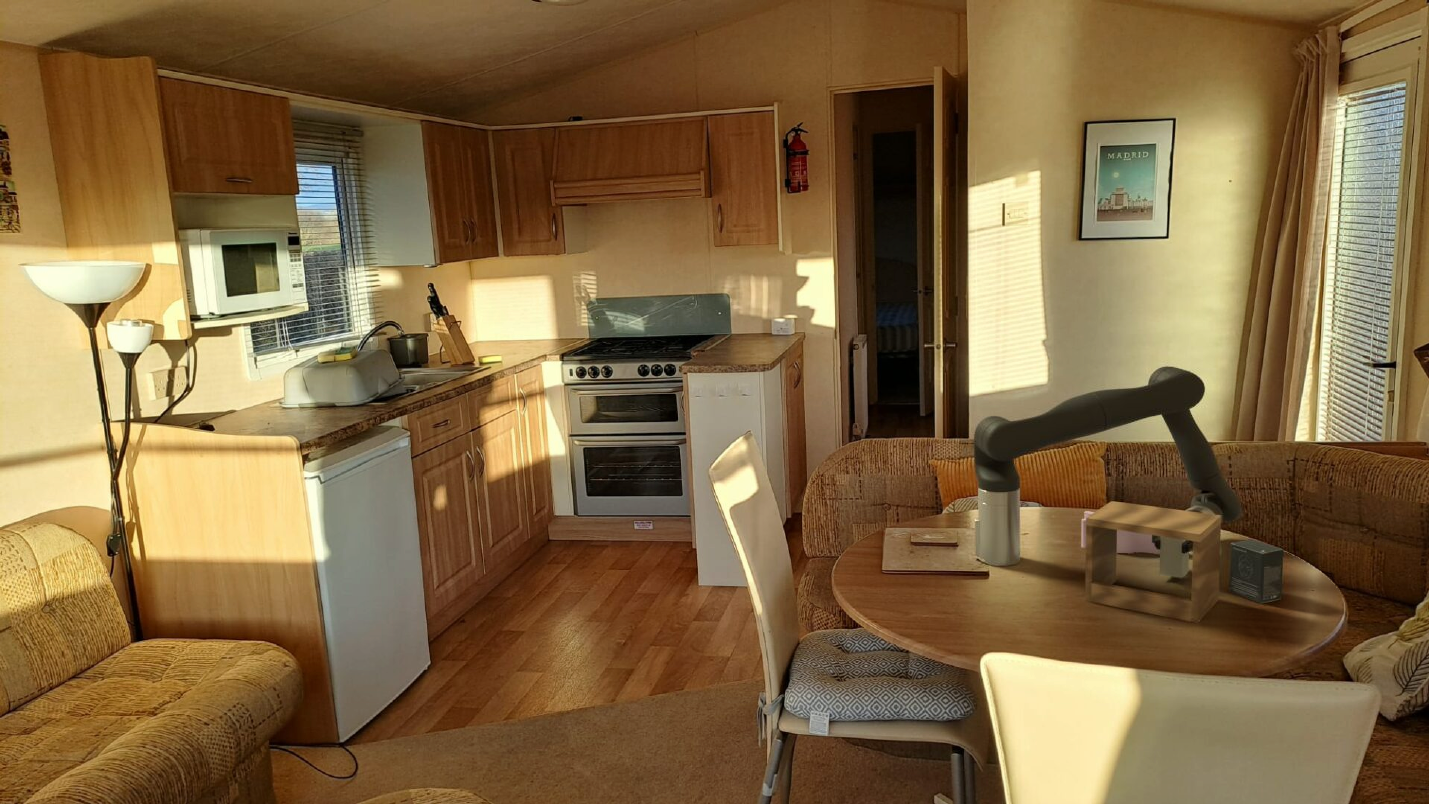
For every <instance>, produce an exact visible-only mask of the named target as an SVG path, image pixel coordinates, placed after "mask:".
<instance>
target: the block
mask: <svg viewBox="0 0 1429 804" xmlns="http://www.w3.org/2000/svg"><path fill="white" fill-rule="evenodd" d="M1160 540H1161V542H1160V554H1159V575H1163V576H1168V577H1174V578H1180V579H1182V578H1183V577H1185V576H1186V575H1187V574H1188V572H1189V566H1190V565H1189V562H1190V561H1189V560H1190V552H1187V553H1186V554H1184V553H1182V543H1183V542H1185V541H1186V540H1182V539H1176V538H1169V537H1162V536H1160Z"/></svg>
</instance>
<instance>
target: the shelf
mask: <svg viewBox="0 0 1429 804" xmlns="http://www.w3.org/2000/svg"><path fill="white" fill-rule="evenodd" d="M1093 512H1094V513H1093V514H1091V515H1090V516H1088V517H1087V518H1086V548H1085V590H1084V591H1085V594H1084V595H1085V598H1084V599H1085V600H1084V601H1085V602H1089V603H1094V604H1100V605H1104V606H1110V607H1114V608H1120V609H1126V610H1131V611H1135V612H1141V613H1145V614H1150V615H1156V616H1160V617H1164V618H1165V617H1167V618H1170V619H1171V618H1172V619H1176V620H1181V621H1184V622H1185V621H1187V622H1192V623H1197V624H1198V623H1199V622H1200V621H1201V620H1202V619H1203V617H1205V615H1206V614H1207V613H1208V612H1209V611H1210V610H1211V609H1212V607H1214V605H1215V604H1216V603H1217V602H1218V601H1219V599H1220V598H1219V596H1220V595H1219V593H1220V592H1219V589H1220V565H1221V564H1220V562H1221V561H1220V559H1221V531H1222V529H1221V528H1222V523H1221V515H1214V514H1206V513H1199V512H1191V511H1185V510H1182V509H1175V508H1166V507H1159V506H1154V505H1153V506H1152V505H1145V504H1137V503H1129V502H1123V501H1122V502H1120V501H1114V500H1111V501H1110V502H1108V503H1106V504H1105V505H1104V506H1102V507H1101V508H1099V509H1097V510H1096V511H1093ZM1117 530H1122V531H1129V532H1135V533H1142V534H1149V535H1155V536H1162V537H1169V538H1176V539H1182V540H1189V541H1193V550H1192V563H1191V565H1192V568H1191V569H1192V571H1191V598H1185V597H1180V596H1175V595H1169V594H1163V593H1159V592H1152V591H1148V590H1143V589H1142V590H1141V589H1137V588H1131V587H1126V586H1121V585H1117V584H1116V585H1115V583H1116V582H1117V557H1118V555H1117ZM1217 600H1218V601H1217ZM1201 618H1202V619H1201ZM1199 620H1200V621H1199Z"/></svg>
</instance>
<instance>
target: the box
mask: <svg viewBox="0 0 1429 804" xmlns="http://www.w3.org/2000/svg"><path fill="white" fill-rule="evenodd" d="M1283 566H1284V548H1281V547H1278V546H1275V545H1271V544H1268V543H1264V542H1262V541H1258V540H1254V539H1246V540H1240V541H1235V542H1231V543H1230V566H1229V567H1230V568H1229V574H1230V575H1229V593H1231V594H1234V595H1236V596H1237V595H1238V596H1241V597H1242V598H1245V599H1248V600H1251V601H1253V602H1256V603H1259V604H1264V603H1266V604H1267V603H1271V602H1275V601H1280V600H1282V596H1283V595H1282V594H1283V593H1282V592H1283V572H1284V570H1283V569H1284V567H1283Z"/></svg>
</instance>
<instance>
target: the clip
mask: <svg viewBox="0 0 1429 804" xmlns="http://www.w3.org/2000/svg"><path fill="white" fill-rule="evenodd" d="M1094 512H1095V511H1089V510H1085V511H1084V512H1083V513H1084V514H1083V515H1084V517H1083V518H1081V525H1080V526H1081V537H1080V538H1081V540H1080V541H1081V544H1080V545H1081V548H1082V549H1086V518H1087V517H1088V516H1090V515H1091V514H1093V513H1094ZM1134 552H1136V553H1146V554H1147V553H1148V554H1152V553H1153V554H1154V555H1160V550H1158V549H1156V547H1155V543H1152V535H1149V534H1142V533H1135V532H1129V531H1122V530H1117V553H1128V554H1135V553H1134Z"/></svg>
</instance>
